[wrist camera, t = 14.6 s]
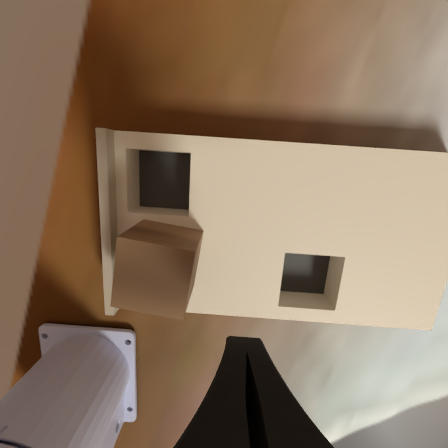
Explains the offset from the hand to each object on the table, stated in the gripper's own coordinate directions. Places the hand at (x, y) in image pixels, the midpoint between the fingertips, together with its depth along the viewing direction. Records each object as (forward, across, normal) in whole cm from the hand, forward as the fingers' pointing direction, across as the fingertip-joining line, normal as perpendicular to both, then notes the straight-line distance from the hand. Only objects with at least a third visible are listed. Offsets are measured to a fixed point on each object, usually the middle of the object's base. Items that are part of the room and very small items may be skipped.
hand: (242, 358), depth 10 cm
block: (+7, +5, -1) cm, 9 cm away
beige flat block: (+10, -3, -3) cm, 11 cm away
